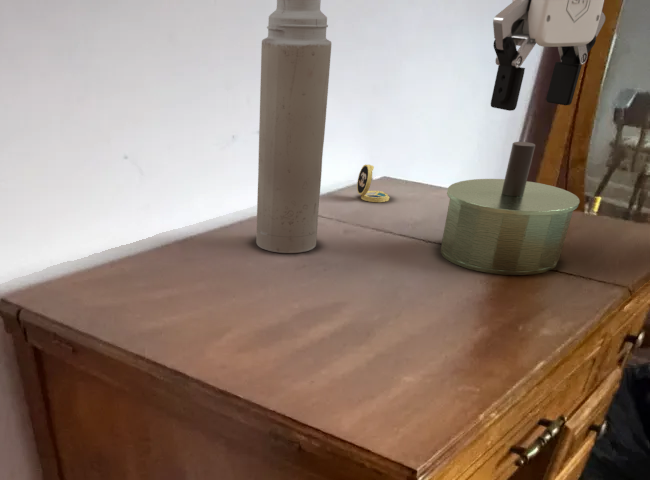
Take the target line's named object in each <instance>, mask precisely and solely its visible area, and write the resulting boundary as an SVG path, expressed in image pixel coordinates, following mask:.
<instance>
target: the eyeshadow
mask: <svg viewBox="0 0 650 480" xmlns="http://www.w3.org/2000/svg"><path fill="white" fill-rule="evenodd" d="M374 168H375V166H374V165H372V164H364V165H362V167H361V169H360V171H359V174H358V177H357V184H356V190H357V194H358V195H360V198H361V200H363V201H365V202H370V203H386V202H388V201H390V195H388V193H386V192H384V191H383V190H382V191H381V190H370V188H371V184H372V180H373V171H374Z"/></svg>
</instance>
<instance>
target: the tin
mask: <svg viewBox="0 0 650 480" xmlns="http://www.w3.org/2000/svg"><path fill="white" fill-rule="evenodd" d="M573 212H574V210H573V211H571V212H567V213H563V214H557V215H546V216H524V215H510V214H501V213H494V212H488V211H483V210H479V209H474V208H471V207H467V206H464V205H462V204H459V203H457V202H455V201H453V200H452V199H450V198H449V200H448V205H447V212H446V216H445V223H444V227H443V234H442V238H441V248H440V253H441V255H442V257H443V258H444V259H445V260H447V261H448V262H450V263H451V264H454V265H456V266H459V267H462V268H465V269H467V270H471V271H476V272H480V273H485V274H492V275H503V276H530V275H539V274H543V273H547V272H550V271H551V270H553V269H554V268H555V267H557V265H558V262H559V260H560V258H561V254H562V251H563V248H564V244H565V241H566V237H567V234H568V231H569V227H570V223H571V219H572V217H573Z"/></svg>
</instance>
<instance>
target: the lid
mask: <svg viewBox="0 0 650 480" xmlns="http://www.w3.org/2000/svg"><path fill="white" fill-rule="evenodd" d="M535 149H536V144H535V143H533V142H528V141H514V142H512V144H511V150H510V153H509V158H508V161H507V167H506V172H505V177H504V178H476V179H466V180H461V181H458V182H454V183H452V184H450V185H448V187H447V191H446V195H447V197H448V198H449V200H450V199H452V200H453V201H455V202H457V203H459V204H462V205H464V206H467V207H471V208H474V209H479V210H483V211H488V212H494V213H501V214H510V215H524V216H546V215H557V214H563V213H567V212H571V211H573V212H574V210H577V208H579V206H580V205H579V204H580V198H579V197H578V195H576V194H574V193H572V192H571V191H569V190H566V189H564V188H560V187H557V186H553V185H549V184H545V183H542V182H541V183H540V182H534V181H528V177H529V174H530V171H531V170H530V169H531V166H532V161H533V157H534V152H535Z"/></svg>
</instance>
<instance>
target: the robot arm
mask: <svg viewBox="0 0 650 480" xmlns="http://www.w3.org/2000/svg"><path fill="white" fill-rule="evenodd" d="M604 3H605V0H512V1H511V3H510V4H508V5H507V6H506V7H505V8H503V9H502V10H501V11H500V12H498V13H497V14H496V15H495V16H494V18H493V20H492V21H493V22H492V26H493V27H492V28H493V39H494V40H493V45H492V46H493V49H494V52H495V55H496V57H495V65H497V71H496V76H495V81H494V85H493V90H492V95H491V99H490V107H491V108H494V109H498V110H504V111H509V112H511V111H512V112H513V111H515V110H516V108H517V106H518V101H519V97H520V94H521V93H520V92H521V89H522V84H523V80H524V75H525V70H526V67H521V66H522V65H523V63H524V62H525V61H526V60H527V57H529V55H530V53H531V52H532V50H533V48H534V47H535V46H536V44H537V45H538V46H539V47H545V48H552V47H553V48H557V50H558V54H559V59H560V60H559V61H555V63H554V66H553V69H552V74H551V79H550V83H549V87H548V90H547V94H546V97H545V100H546V102H547V103H549V104H555V105H559V106H560V105H561V106H570V105H571V104H572V102H573V100H574V97H575V92H576V89H577V85H578V81H579V76H580V73H581V70H582V67H583V66H582V65H584V64H585V63H586V62H587V60H588V57H589V56H588V55H589V54H588V53H589V52H590V51H591V50H592V48H593V47H594V46H595V44H596V40H597V37H598V35H599V33H600V31H602V28H603V26H604V24H605V22H606V15H605V13H604V11H603V8H604ZM517 46H518V49H517Z"/></svg>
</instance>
